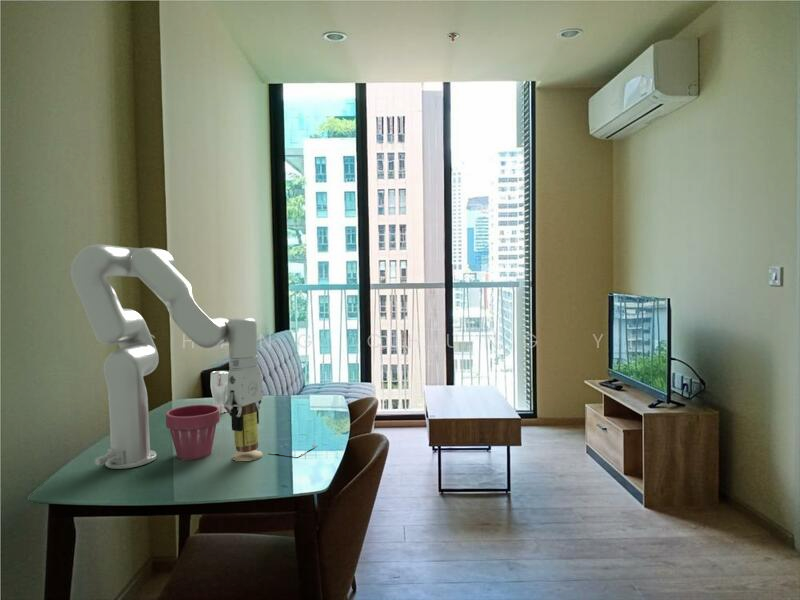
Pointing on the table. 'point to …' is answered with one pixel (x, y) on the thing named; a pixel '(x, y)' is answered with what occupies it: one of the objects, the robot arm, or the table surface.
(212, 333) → the robot arm
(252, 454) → the coaster
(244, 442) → the sauce bottle
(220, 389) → the beer glass
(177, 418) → the plant pot
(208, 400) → the table surface
